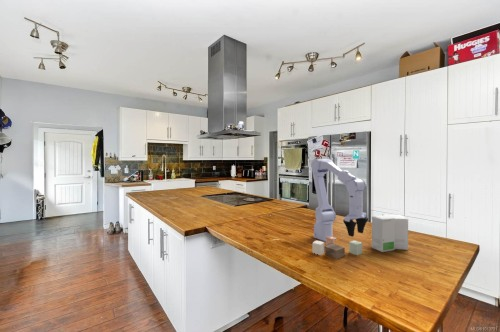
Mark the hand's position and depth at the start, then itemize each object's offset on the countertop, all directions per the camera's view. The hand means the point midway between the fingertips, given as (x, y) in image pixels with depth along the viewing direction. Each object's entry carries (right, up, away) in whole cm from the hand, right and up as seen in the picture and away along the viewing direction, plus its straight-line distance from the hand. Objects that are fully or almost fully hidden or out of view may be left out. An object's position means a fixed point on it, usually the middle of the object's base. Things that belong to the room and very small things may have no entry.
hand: (355, 234), depth 107 cm
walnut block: (-10, -9, -2) cm, 14 cm away
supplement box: (+23, -8, +8) cm, 26 cm away
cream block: (-17, -9, +1) cm, 19 cm away
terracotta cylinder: (-9, -9, +7) cm, 15 cm away
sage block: (0, -9, 0) cm, 9 cm away
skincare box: (+15, -9, +5) cm, 18 cm away
